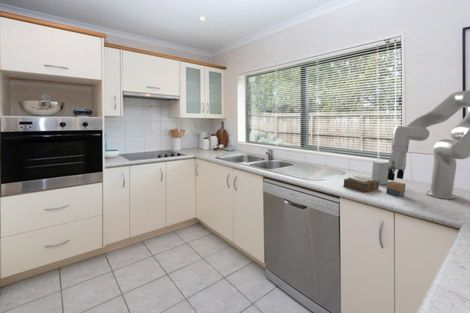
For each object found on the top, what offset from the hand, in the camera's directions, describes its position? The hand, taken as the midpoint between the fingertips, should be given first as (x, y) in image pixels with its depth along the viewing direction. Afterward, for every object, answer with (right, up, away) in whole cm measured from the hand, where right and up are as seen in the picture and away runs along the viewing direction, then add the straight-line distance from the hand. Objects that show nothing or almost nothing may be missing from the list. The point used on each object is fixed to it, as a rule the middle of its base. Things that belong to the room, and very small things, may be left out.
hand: (395, 179), depth 138 cm
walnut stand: (-12, -7, +14) cm, 20 cm away
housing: (+1, -9, +1) cm, 9 cm away
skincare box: (+6, -5, +25) cm, 27 cm away
